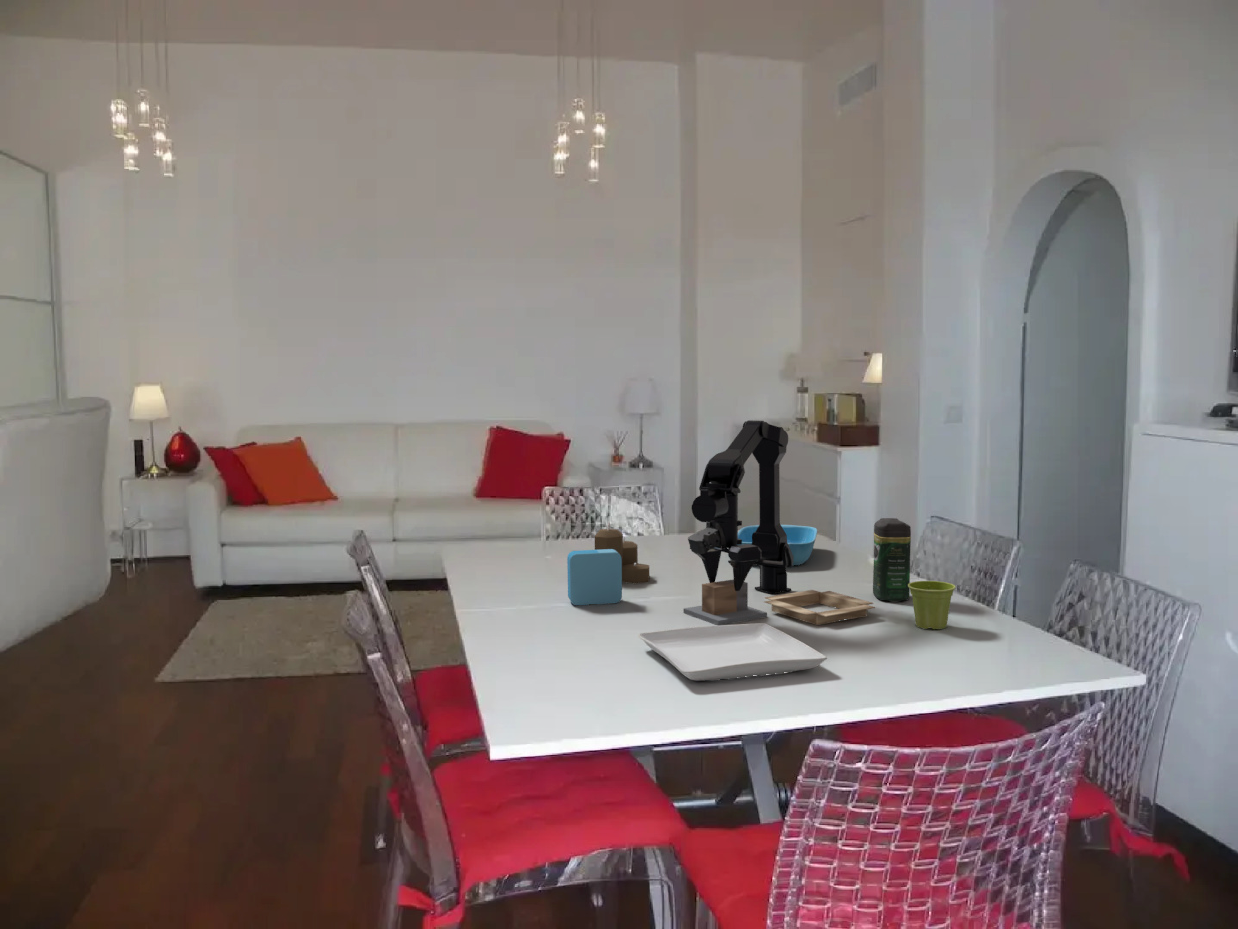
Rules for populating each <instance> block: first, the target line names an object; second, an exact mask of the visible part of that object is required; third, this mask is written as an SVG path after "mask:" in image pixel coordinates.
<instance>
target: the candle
mask: <svg viewBox="0 0 1238 929" xmlns="http://www.w3.org/2000/svg"><path fill="white" fill-rule="evenodd" d="M606 526H607V528H603V529H602V528H601V529H599V531H597V532H596V534H595V535H594V550H602V549H614V550H616V551H617V552H618V553H619V554H620V555H621V559H622V583H626V582H627V584H633V583H636V584H644V583H645V584H646V583H650V582H649V581H650V565H649V564H644V563H638V561H639V560H638V559H639V558H638V544H637V543H635V542H634V541H629V540H626V538H625V537H624V534H623V533H622V531H620V530H619V529H618V528H611V523H610V521H608V522H607V525H606Z"/></svg>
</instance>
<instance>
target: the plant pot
mask: <svg viewBox="0 0 1238 929" xmlns="http://www.w3.org/2000/svg"><path fill="white" fill-rule="evenodd" d="M908 587H909V588H910V594H911V596H912V605H913V611H914V618H915V626H916V627H918V628H921V629H923V628H924V629H923V630H927V629H933V630H935V629H938V630H942V629H946V628H947V626H948V621H949V614H950V607H951V599H952V596H953V594H954V590H956V585H955V584H953V583H950V582H946V581H940V580H939V581H938V580H918V581H912V582H911V581H910V583H909V584H908Z"/></svg>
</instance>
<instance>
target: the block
mask: <svg viewBox="0 0 1238 929" xmlns="http://www.w3.org/2000/svg"><path fill="white" fill-rule="evenodd" d="M748 588H749V584H748V582H746V581H744V583H743V585H742V587H741V589H740V591H735V588H734V578H733V579H726V580H721V581H715V582H712V583H710V582H708V583H702V584H701V606H702V611H703V612H706V613H709V614H712V615H719V614H725V613H731V612H737V611H743V610H748V607H749V606H748V605H749V604H748V602H749V601H748V598H749V597H748V595H749V594H748V590H749V589H748Z"/></svg>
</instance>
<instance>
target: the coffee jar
mask: <svg viewBox="0 0 1238 929" xmlns="http://www.w3.org/2000/svg"><path fill="white" fill-rule="evenodd" d="M911 532H912V529H911V525H909V524H908V523H907V522H904V521H903V520H900V519H899V518H897V517H896V518H895V517H894V518H893V517H885V518H884V517H883V518H882V517H881V518H880V519H879V520H877V521H875V523H874V526H873V568H872V569H873V572H872V573H873V575H872V594H873V596H874V597H875V598H877V599H878V600H881V601H889V602H891V603H892V602H894V603H896V602H901V601H908V600H909V599H910V596H911V595H910V594H911V592H910V588H909V587H908V584H909V583H911V578H910V577H911V575H910V574H911V542H912V536H911V534H912V533H911Z"/></svg>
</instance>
